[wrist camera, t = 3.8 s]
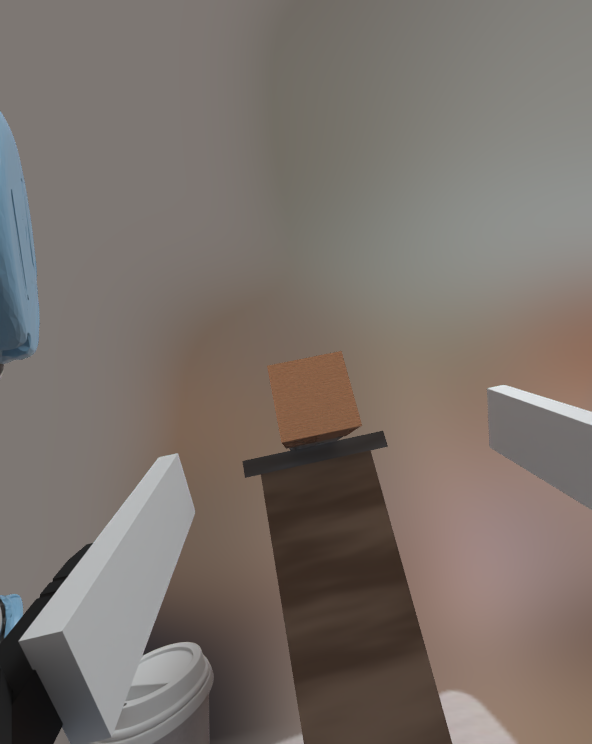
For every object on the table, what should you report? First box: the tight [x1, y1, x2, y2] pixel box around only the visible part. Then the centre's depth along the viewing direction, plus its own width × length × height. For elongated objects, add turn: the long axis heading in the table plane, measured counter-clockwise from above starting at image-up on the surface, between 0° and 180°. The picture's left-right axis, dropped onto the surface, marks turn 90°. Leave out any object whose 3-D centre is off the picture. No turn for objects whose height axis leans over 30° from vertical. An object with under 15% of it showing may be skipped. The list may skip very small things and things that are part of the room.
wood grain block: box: [267, 351, 362, 451], centre depth 26 cm, size 23×4×4 cm, turn 179°
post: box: [243, 431, 452, 744], centre depth 24 cm, size 16×13×30 cm
